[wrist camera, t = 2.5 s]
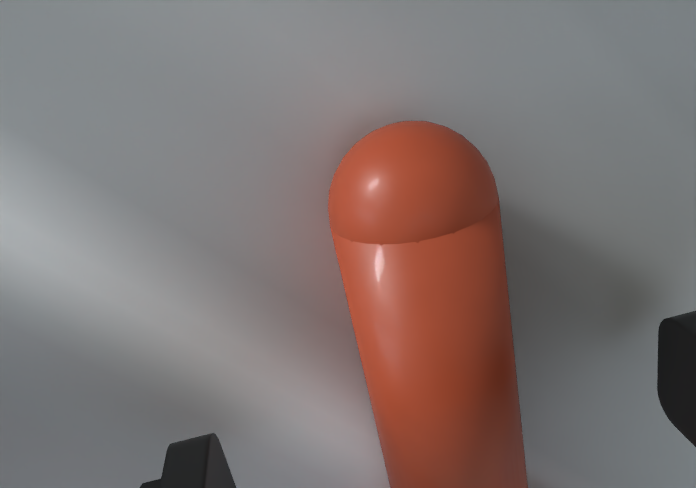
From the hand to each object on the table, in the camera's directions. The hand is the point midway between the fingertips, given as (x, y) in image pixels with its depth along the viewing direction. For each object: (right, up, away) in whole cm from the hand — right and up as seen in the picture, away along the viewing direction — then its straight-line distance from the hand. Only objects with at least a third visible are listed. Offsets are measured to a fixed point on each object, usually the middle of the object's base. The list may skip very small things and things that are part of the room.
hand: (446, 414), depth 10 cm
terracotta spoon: (0, -1, +2) cm, 2 cm away
